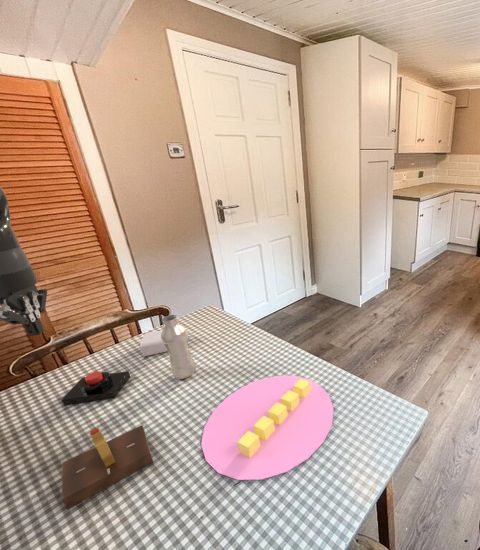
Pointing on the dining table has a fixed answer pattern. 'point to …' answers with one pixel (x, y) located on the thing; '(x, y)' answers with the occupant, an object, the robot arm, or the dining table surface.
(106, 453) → the lock knob
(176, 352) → the plastic bottle
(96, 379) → the button
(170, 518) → the dining table surface
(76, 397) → the switch block
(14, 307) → the robot arm
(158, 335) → the charger
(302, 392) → the platter
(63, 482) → the plate
